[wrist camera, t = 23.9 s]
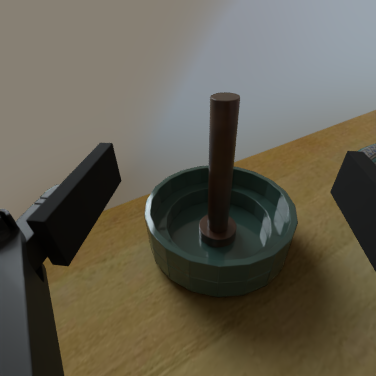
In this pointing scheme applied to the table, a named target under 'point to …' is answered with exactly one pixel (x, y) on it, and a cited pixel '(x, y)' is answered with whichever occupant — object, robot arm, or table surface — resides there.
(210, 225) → the spurtle
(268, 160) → the table surface
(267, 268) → the stir bowl
